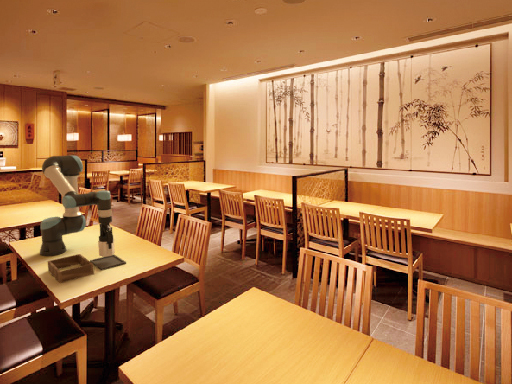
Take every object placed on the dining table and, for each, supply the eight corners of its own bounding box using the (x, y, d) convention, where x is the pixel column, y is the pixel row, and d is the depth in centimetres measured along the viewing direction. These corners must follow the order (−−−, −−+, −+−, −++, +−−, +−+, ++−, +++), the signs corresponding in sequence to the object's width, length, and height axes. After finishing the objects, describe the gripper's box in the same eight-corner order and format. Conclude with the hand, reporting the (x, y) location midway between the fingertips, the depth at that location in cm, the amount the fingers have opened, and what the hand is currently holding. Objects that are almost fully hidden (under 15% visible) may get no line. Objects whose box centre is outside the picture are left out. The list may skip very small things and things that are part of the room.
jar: (100, 257, 197) (98, 238, 195) (98, 253, 203) (96, 235, 201) (116, 255, 202) (114, 236, 200) (113, 251, 208) (112, 233, 206)
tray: (90, 262, 204) (89, 260, 204) (114, 256, 214) (114, 254, 214) (101, 270, 191) (100, 268, 191) (126, 263, 202) (126, 261, 202)
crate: (48, 270, 190) (47, 261, 189) (80, 263, 202) (79, 253, 201) (59, 283, 174) (58, 272, 173) (93, 273, 186) (93, 263, 185)
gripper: (92, 214, 202) (95, 249, 206) (105, 220, 188) (107, 257, 192) (104, 212, 208) (107, 246, 211) (118, 217, 194) (120, 254, 197)
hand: (107, 251), depth 202 cm, fingers closed on jar, 7 cm apart
